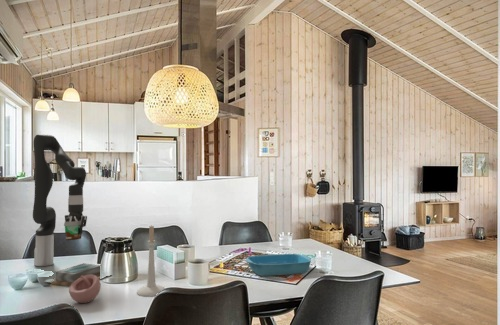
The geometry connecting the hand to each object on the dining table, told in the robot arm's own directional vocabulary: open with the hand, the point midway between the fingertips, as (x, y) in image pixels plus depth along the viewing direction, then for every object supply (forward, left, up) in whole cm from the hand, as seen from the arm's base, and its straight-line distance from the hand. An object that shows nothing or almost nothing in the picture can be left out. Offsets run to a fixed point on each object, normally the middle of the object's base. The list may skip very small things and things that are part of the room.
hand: (75, 234), depth 208 cm
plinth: (+15, -12, -20) cm, 27 cm away
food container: (+1, 0, -3) cm, 3 cm away
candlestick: (+61, -16, -20) cm, 66 cm away
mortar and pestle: (+43, -37, -20) cm, 60 cm away
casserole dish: (+105, +38, -20) cm, 113 cm away
